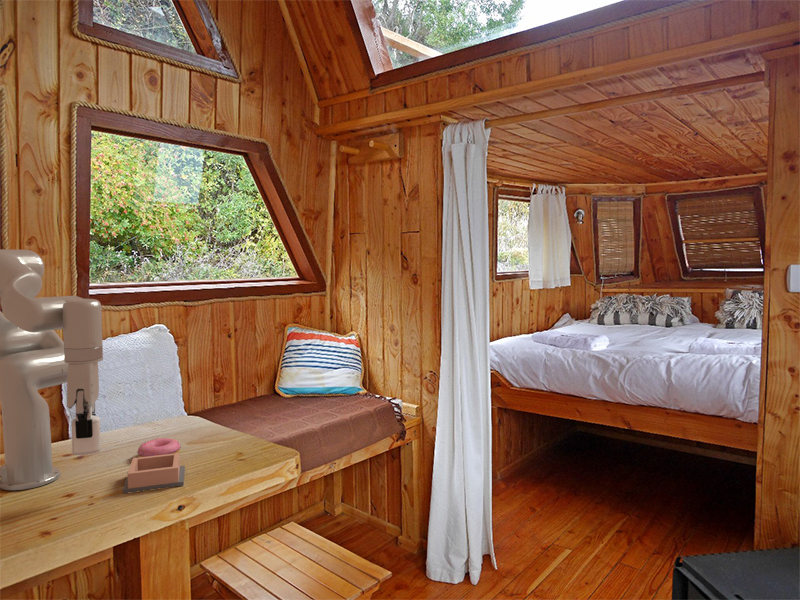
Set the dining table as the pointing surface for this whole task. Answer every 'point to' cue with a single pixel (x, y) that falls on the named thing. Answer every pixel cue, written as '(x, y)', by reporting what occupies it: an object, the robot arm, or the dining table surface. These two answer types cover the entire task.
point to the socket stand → (154, 473)
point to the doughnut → (159, 447)
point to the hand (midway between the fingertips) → (86, 433)
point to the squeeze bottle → (87, 444)
